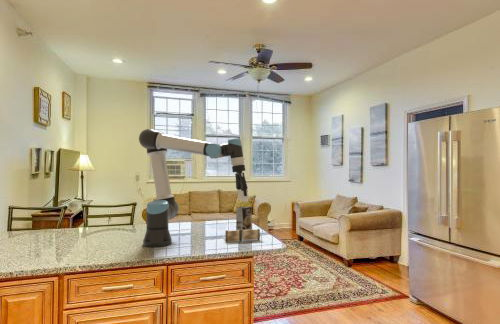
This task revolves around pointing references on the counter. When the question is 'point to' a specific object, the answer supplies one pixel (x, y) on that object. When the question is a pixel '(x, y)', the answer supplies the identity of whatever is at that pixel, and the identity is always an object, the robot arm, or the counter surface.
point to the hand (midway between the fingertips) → (243, 201)
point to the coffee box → (244, 218)
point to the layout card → (240, 241)
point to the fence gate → (251, 234)
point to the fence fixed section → (233, 235)
